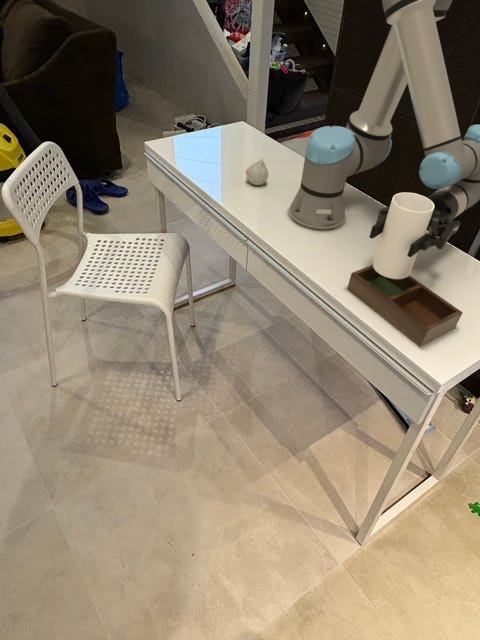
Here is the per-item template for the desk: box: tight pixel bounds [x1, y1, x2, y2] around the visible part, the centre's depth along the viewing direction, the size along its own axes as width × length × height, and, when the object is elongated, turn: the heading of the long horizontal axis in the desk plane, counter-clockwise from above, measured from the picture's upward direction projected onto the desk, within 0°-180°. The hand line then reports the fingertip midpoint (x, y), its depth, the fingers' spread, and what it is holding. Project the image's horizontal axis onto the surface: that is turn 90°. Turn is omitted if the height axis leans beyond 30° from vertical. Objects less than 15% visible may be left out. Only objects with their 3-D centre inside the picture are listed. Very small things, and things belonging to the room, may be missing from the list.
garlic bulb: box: [244, 158, 269, 186], centre depth 147 cm, size 6×7×8 cm
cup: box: [372, 192, 434, 279], centre depth 102 cm, size 8×8×16 cm
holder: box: [347, 264, 464, 348], centre depth 108 cm, size 11×22×5 cm, turn 34°
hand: (391, 241), depth 99 cm, fingers closed on cup, 8 cm apart
